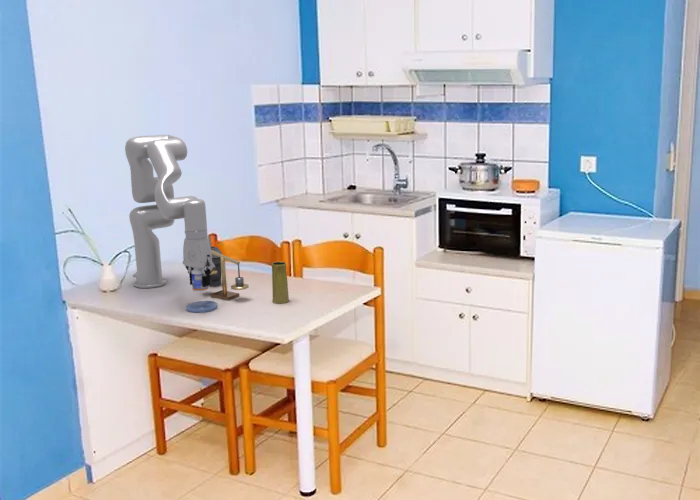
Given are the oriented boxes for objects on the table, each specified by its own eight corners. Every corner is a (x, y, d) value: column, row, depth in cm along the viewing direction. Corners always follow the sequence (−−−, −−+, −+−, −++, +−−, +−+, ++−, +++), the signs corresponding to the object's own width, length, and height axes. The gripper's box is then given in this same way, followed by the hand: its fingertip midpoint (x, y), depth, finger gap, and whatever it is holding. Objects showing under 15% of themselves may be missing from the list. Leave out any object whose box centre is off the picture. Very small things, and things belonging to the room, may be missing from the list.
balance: (197, 294, 290) (194, 249, 286) (210, 290, 295) (207, 246, 292) (241, 303, 278) (238, 256, 274) (252, 298, 283) (250, 252, 279)
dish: (179, 310, 272) (179, 306, 271) (201, 302, 281) (201, 298, 280) (201, 314, 266) (201, 311, 265) (223, 306, 274) (223, 303, 274)
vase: (276, 304, 275) (274, 266, 272) (269, 300, 280) (267, 262, 277) (291, 302, 278) (290, 263, 275) (285, 298, 283) (283, 260, 280)
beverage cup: (220, 288, 299) (217, 237, 294) (202, 287, 300) (199, 237, 296) (227, 283, 306) (224, 233, 301) (209, 282, 307) (206, 233, 303)
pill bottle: (193, 288, 274) (191, 261, 272) (208, 287, 274) (207, 261, 272) (191, 292, 269) (189, 265, 266) (207, 291, 269) (205, 264, 267)
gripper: (171, 234, 269) (175, 284, 273) (206, 239, 259) (210, 290, 263) (187, 230, 275) (190, 279, 279) (221, 235, 265) (225, 285, 269)
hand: (200, 284), depth 271 cm, fingers closed on pill bottle, 5 cm apart
